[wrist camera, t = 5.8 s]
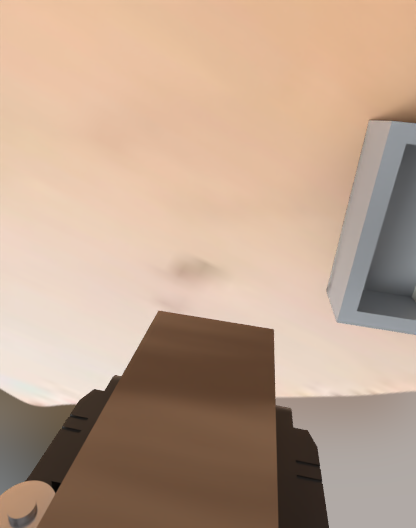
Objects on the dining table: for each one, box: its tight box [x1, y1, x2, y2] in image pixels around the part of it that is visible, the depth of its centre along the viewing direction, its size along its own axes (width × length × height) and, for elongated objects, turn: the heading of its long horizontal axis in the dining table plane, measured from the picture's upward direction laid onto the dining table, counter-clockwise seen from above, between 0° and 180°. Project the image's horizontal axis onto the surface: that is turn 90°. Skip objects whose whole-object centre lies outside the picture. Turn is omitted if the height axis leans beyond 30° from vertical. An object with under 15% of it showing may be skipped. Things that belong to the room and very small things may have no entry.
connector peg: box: [36, 311, 278, 528], centre depth 10 cm, size 4×4×8 cm
